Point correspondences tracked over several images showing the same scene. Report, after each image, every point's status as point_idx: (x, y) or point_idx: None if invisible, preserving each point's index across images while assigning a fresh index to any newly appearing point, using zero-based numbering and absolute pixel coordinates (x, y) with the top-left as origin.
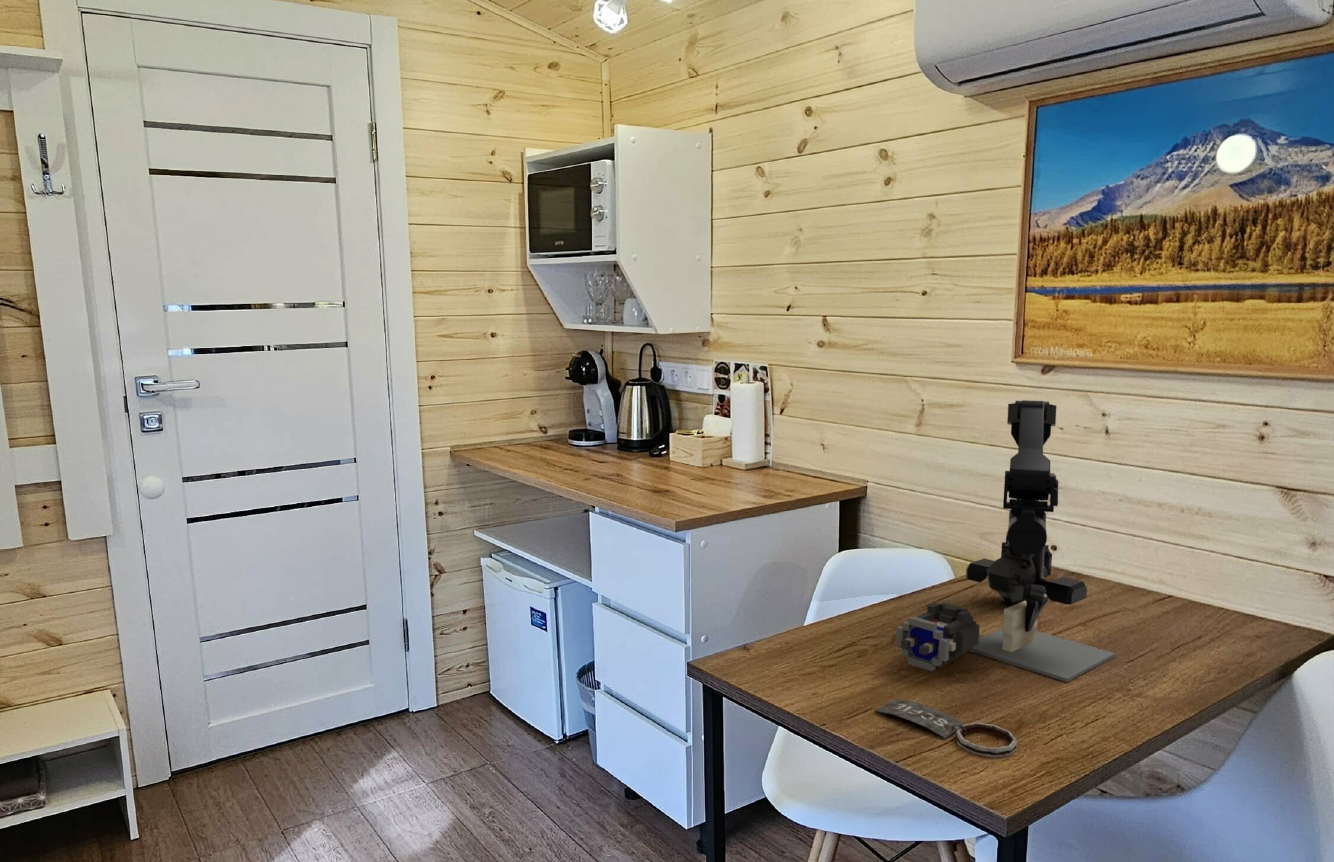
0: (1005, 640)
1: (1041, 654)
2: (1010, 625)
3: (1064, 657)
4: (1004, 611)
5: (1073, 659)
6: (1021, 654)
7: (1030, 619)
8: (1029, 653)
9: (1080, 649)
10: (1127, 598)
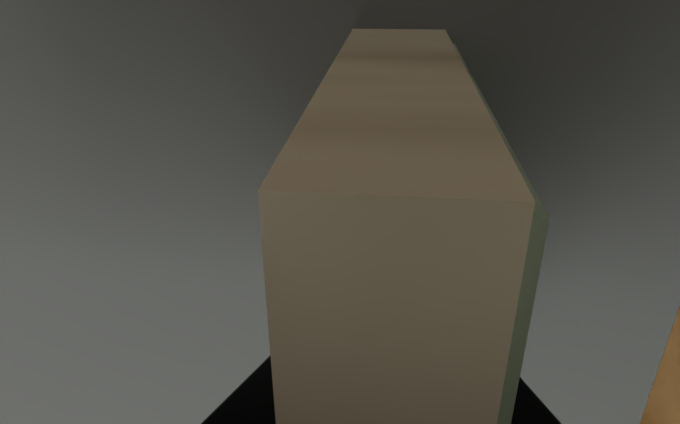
0: (420, 43)
1: (174, 174)
2: (354, 91)
3: (53, 237)
4: (512, 171)
5: (3, 247)
6: (265, 48)
7: (230, 397)
8: (241, 127)
9: (101, 414)
10: None
